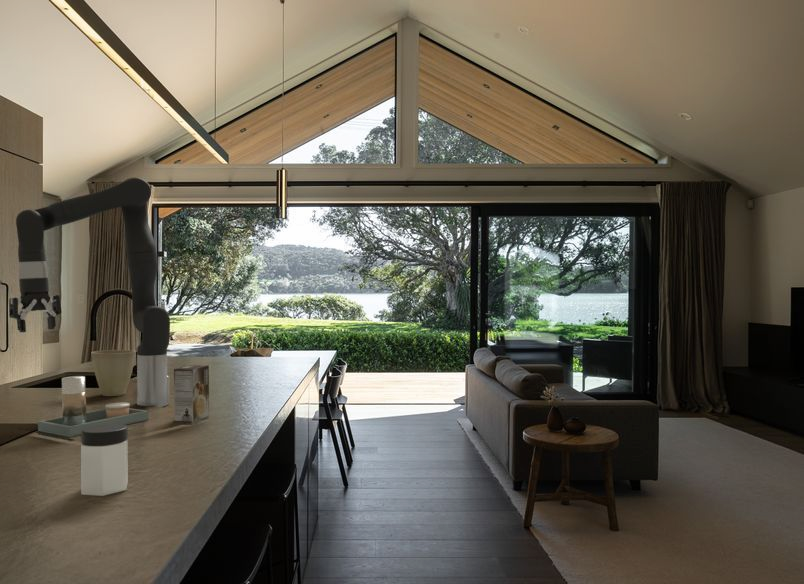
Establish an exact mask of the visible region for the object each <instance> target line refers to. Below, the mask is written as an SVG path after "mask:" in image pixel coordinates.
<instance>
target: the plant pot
mask: <svg viewBox="0 0 804 584" xmlns="http://www.w3.org/2000/svg"><path fill="white" fill-rule="evenodd" d="M136 354H137V350H132V349H131V350H130V349H111V350H95V351H92V352H91V353H90V355H91V361H92V366H93V372H94V375H95V378H96V382H97V385H98V389H99V391H100V392H101V394H102V396H103V397H118V396H123V395H125V393H126V391H127V388H128V385H129V383H130V381H131V376H132V373H133V368H134V365H135V359H136Z"/></svg>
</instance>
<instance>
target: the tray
mask: <svg viewBox="0 0 804 584" xmlns="http://www.w3.org/2000/svg"><path fill="white" fill-rule="evenodd" d="M149 413H150V412H149V410H144V409H138V408H137V409H136V408H130V407H129V414H128V415H124V416H119V417H114V418H109V419H106V408H103V409H97V410H91V411H86V423H84V424H79V425H74V426H67V425H63V416H59V417H54V418H50V419H49V418H48V419H45V420H39V421H37V431H38V432H37V435H38V436H39V435H40V436H45V437H48V438H54V439H57V440H59V439H60V440H64V441H69V442H70V441H74V440H75V439H74V438H73V439H72V437H76V436H81V434H82V430H83V429H84V428H86V427H90V426H94V425H101V424H124V425H126V426H127V425H132V424H137V423H140V422H144V421H146V422H147V421H148V420H149V417H150V416H149V415H150V414H149ZM41 432H42V433H41ZM47 433H48V434H47Z"/></svg>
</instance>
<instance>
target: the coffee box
mask: <svg viewBox="0 0 804 584" xmlns="http://www.w3.org/2000/svg"><path fill="white" fill-rule="evenodd" d="M209 367H210V366H209V365H207V364H206V365H205V364H204V365H201V364H200V365H198V364H197V365H196V364H195V365H194V364H191V365H186V366H181V367H177V368H174V369H173V393H174V394H173V397H174V399H173V405H174V408H173V409H174V411H173V412H174V421H175V422H184V423H183V425H190V424H191V425H192V426H193V425H197V424H198V423H201V422H203V421H205V420H208V419H209V417H208V416H210V370H209V369H210V368H209ZM185 422H186V423H185Z"/></svg>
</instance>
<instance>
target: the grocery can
mask: <svg viewBox="0 0 804 584" xmlns="http://www.w3.org/2000/svg"><path fill="white" fill-rule="evenodd" d="M86 395H87V391H86V376H85V375H73V376H63V377H62V378H61V402H62V403H61V406H62V407H61V408H62V410H61V412H62V416H61V417H63V425H67V426H74V425H79V424H84V423H86V412H87V396H86Z"/></svg>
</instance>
